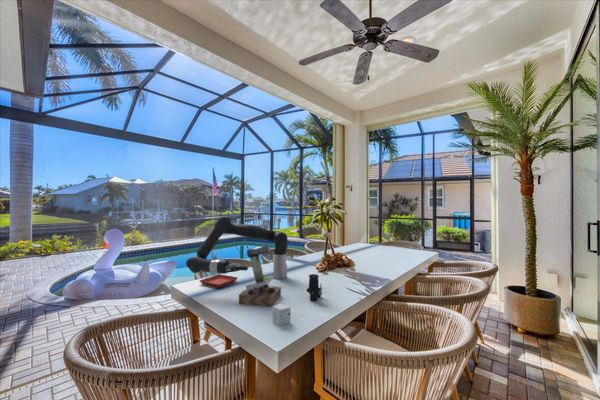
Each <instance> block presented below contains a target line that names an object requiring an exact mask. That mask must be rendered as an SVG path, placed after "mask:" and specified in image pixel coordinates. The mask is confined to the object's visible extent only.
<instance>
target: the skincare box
mask: <svg viewBox="0 0 600 400" xmlns="http://www.w3.org/2000/svg"><path fill="white" fill-rule="evenodd" d="M291 307H292V306H289V305H288V304H287V303H284V302H283V303H279V304H278V303H277V304H275V305H274V304H273V305H272V322H273V323H274V324H276V325H277V326H278V327H282V326H285V325H289V324H291V313H292V312H291V310H292V309H291Z"/></svg>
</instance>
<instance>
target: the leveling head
mask: <svg viewBox="0 0 600 400" xmlns="http://www.w3.org/2000/svg"><path fill="white" fill-rule="evenodd" d="M269 253H270V246H269V245H268V244H266V245H262V246H258V247H254V248H253V247H252V248H249V249H247V250H246V255H247V257H248V258H249V259H250V263H251V268H252V271H253V276H254V279H253V280H252V281H250V282H249V283H248V284H246V285H245V288H246V289H248V288H253V287H259V288H261V287H262V286H263V285H267V284H268V285H269V283H271V282H272V281H273V280H274V279H275V278H274V277H273V275H270V276H266V277H265V276H264V271H263V268H262V263H261V259H260V256H262V255H265V254H266V255H267V254H269Z"/></svg>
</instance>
